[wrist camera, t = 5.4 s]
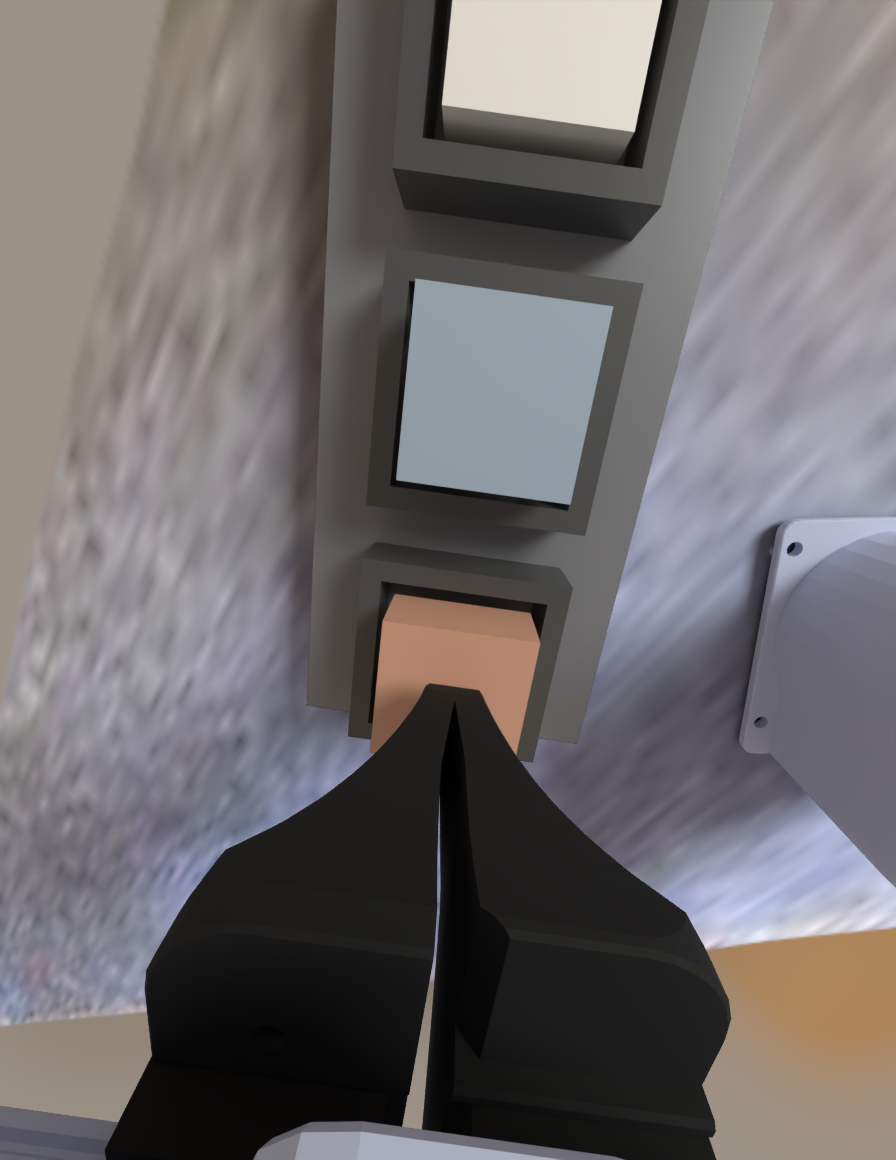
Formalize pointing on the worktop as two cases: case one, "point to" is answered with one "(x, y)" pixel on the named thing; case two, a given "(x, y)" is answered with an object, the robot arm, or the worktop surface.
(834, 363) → the worktop surface
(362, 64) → the key panel
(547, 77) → the off-white key
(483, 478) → the slate blue key
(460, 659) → the terracotta key
